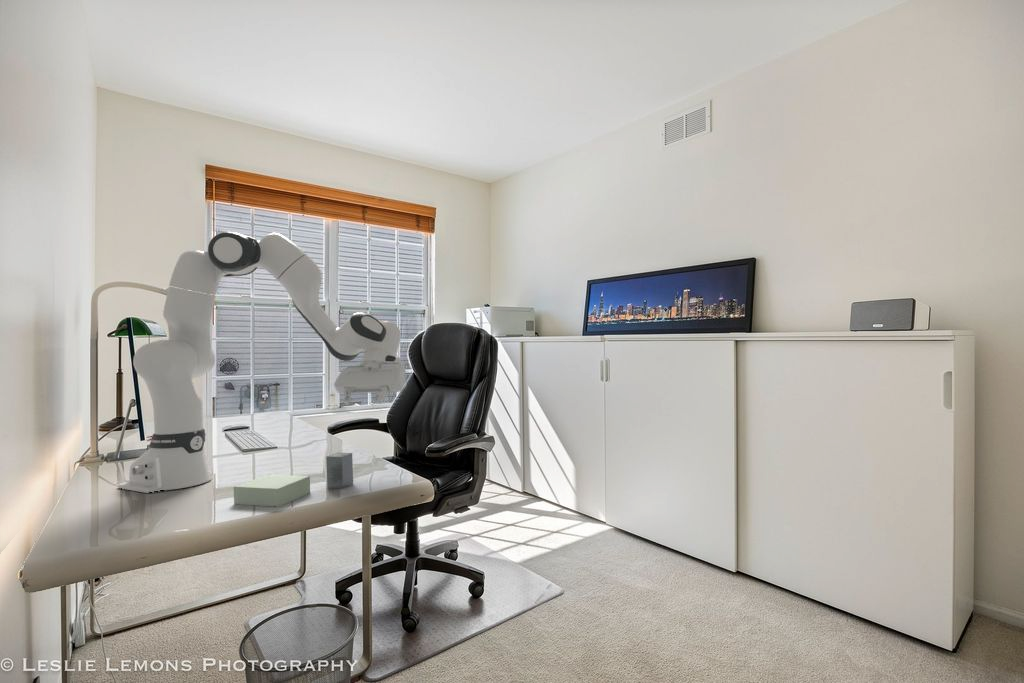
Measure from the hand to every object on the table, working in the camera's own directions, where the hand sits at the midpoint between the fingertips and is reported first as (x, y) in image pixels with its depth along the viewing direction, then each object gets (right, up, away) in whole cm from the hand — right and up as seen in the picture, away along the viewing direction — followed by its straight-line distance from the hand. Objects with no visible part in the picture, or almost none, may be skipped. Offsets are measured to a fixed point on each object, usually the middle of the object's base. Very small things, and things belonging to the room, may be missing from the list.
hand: (361, 402), depth 140 cm
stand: (-15, -20, -21) cm, 33 cm away
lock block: (-2, -20, -12) cm, 23 cm away
